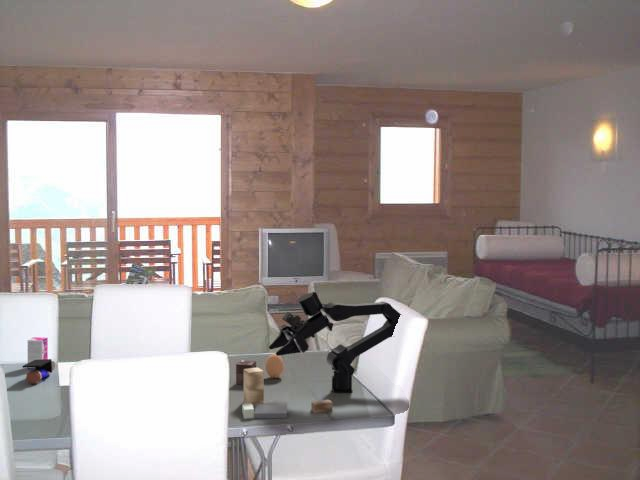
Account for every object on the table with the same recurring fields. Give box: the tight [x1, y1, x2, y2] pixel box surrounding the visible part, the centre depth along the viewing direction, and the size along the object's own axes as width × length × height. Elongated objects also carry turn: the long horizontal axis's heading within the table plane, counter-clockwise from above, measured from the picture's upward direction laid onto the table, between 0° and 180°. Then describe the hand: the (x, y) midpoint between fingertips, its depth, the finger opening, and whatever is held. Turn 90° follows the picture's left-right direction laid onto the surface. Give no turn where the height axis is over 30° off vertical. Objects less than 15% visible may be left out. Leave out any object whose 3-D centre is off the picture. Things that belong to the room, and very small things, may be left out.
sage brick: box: [241, 403, 255, 420], centre depth 216 cm, size 6×3×3 cm, turn 12°
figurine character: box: [22, 358, 56, 385], centre depth 254 cm, size 7×8×15 cm
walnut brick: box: [310, 399, 333, 414], centre depth 221 cm, size 6×3×3 cm, turn 107°
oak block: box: [243, 366, 265, 407], centre depth 228 cm, size 5×5×11 cm
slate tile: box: [253, 402, 288, 419], centre depth 218 cm, size 10×10×2 cm
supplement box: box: [27, 336, 49, 371], centre depth 270 cm, size 6×6×12 cm
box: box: [235, 360, 257, 385], centre depth 252 cm, size 6×6×7 cm
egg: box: [265, 353, 285, 379], centre depth 258 cm, size 7×7×9 cm
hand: (272, 351), depth 234 cm, fingers open, 9 cm apart
